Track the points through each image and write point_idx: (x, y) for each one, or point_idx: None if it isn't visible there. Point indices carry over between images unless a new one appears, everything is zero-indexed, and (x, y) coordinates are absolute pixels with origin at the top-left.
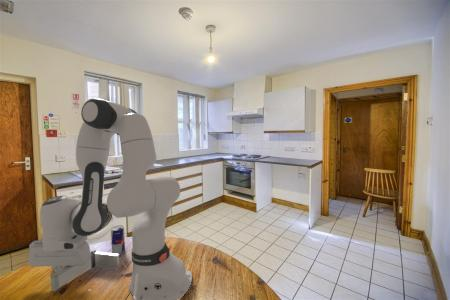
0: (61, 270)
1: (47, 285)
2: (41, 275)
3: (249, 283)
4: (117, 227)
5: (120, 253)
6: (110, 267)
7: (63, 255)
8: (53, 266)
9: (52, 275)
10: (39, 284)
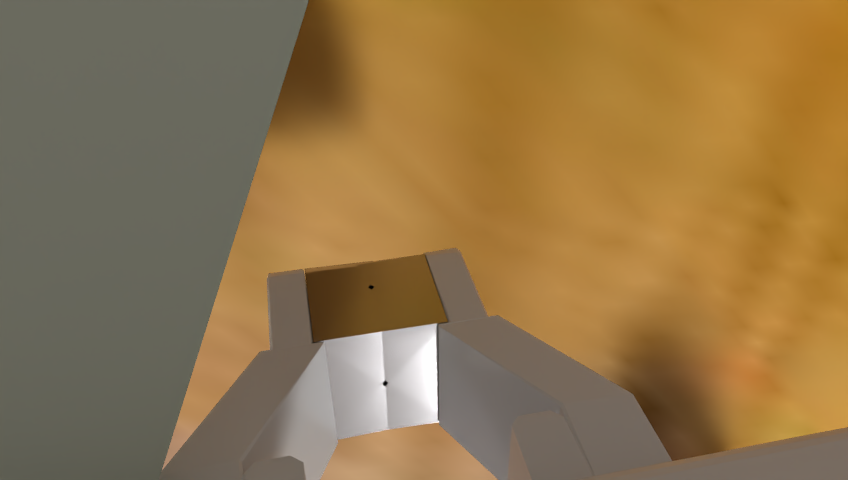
0: (77, 362)
1: (548, 60)
2: (817, 272)
3: None
4: None
5: None
6: None
7: None
8: (608, 459)
9: (182, 14)
10: (732, 77)
